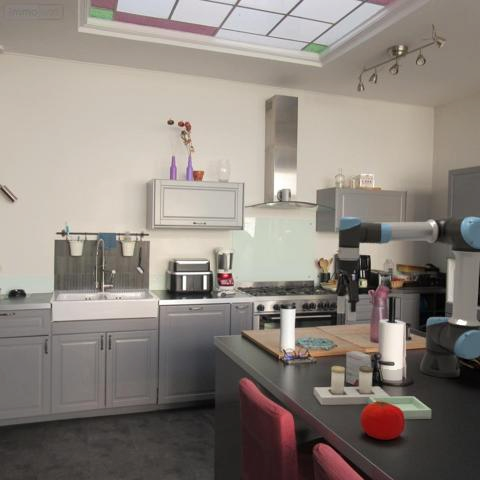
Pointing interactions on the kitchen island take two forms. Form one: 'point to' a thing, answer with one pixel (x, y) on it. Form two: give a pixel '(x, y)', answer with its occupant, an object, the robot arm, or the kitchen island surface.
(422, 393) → the kitchen island surface
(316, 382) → the kitchen island surface
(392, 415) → the tomato
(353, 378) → the ink box
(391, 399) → the parts tray
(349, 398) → the socket strip
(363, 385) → the cylinder
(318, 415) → the kitchen island surface
